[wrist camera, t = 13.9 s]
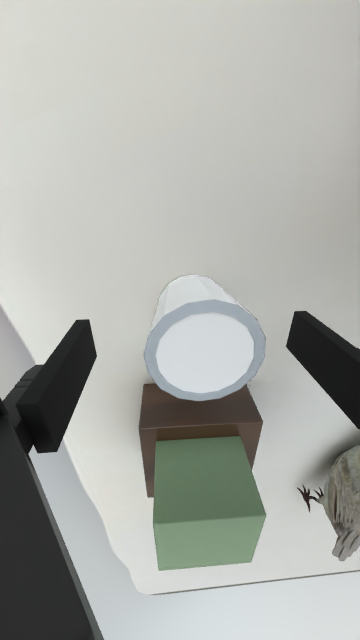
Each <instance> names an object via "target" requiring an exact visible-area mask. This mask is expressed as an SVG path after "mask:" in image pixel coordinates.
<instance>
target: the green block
mask: <svg viewBox="0 0 360 640" xmlns="http://www.w3.org/2000/svg"><path fill="white" fill-rule="evenodd" d="M265 518H266V513H265V510H264V507H263V504H262V501H261V498H260V495H259V492H258V489H257V486H256V483H255V480H254V476H253V473H252V470H251V467H250V464H249V461H248V458H247V455H246V452H245V449H244V446H243V443H242V440H241V437H240V436H230V437H214V438H197V439H181V440H165V441H156V451H155V480H154V508H153V528H154V536H155V545H156V553H157V561H158V569H159V571H162V570H173V569H183V568H194V567H205V566H216V565H227V564H238V563H249V562H251V561H252V558H253V555H254V552H255V549H256V546H257V542H258V539H259V536H260V533H261V530H262V527H263V524H264V521H265Z"/></svg>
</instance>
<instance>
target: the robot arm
mask: <svg viewBox="0 0 360 640" xmlns="http://www.w3.org/2000/svg"><path fill="white" fill-rule="evenodd" d="M286 347H287V348H288V350H289V351H290V352H291V353H292V354H293V355H294V356H295V358H296V359H297V360H298V361H299V362H300V363H301V364H302V365H303V367H304V368H305V369H306V370H307V371H308V372H309V373H310V375H311V376H312V377H313V378H314V379H315V380H316V381H317V382H318V384H319V385H320V386H321V387H322V388H323V389H324V390H325V392H326V393H327V394H328V395H329V396H330V397H331V398H332V399H333V401H334V402H335V403H336V404H337V405H338V406H339V407H340V409H341V410H342V411H343V412H344V413H345V414H346V415H347V416H348V418H349V419H350V420H351V421H352V422H353V423H354V424H355V426H356V427H357V428H358V429H360V349H358V348H356V347H354V346H353V345H352V344H350V343H349V342H348V341H346V340H345V339H343V338H342V337H341V336H339V335H338V334H337V333H335V332H334V331H333V330H331V329H330V328H328V327H327V326H326V325H324V324H323V323H322V322H320V321H319V320H318V319H316V318H315V317H313V316H312V315H311V314H309V313H308V312H307V311H295V312H294V316H293V320H292V324H291V328H290V332H289V336H288V340H287V345H286ZM96 357H97V355H96V350H95V345H94V340H93V335H92V331H91V326H90V321H89V319H88V320H76V321H75V323H74V324H73V325H72V327H71V328H70V329H69V331H68V332H67V334H66V335H65V336H64V338H63V339H62V340H61V342H60V343H59V345H58V346H57V347H56V349H55V350H54V352H53V353H52V354H51V356H50V357H49V358H48V360H47V361H46V363H45V364H44V365H35V366H34V367H32V368H31V369H30V370H28V371H27V372H26V373H25V374H24V375H23V377H22V378H21V379H20V382H18V383H17V384H16V385H15V387H14V388H13V389H12V391H11V392H10V393H9V394H8V395H7V397H6V398H5V399H4V400H3V402H2V400H1V398H0V640H104V638H103V636H102V634H101V631H100V629H99V626H98V624H97V621H96V619H95V616H94V614H93V611H92V609H91V607H90V604H89V602H88V599H87V597H86V594H85V592H84V589H83V587H82V584H81V582H80V579H79V577H78V574H77V572H76V570H75V567H74V565H73V562H72V560H71V557H70V555H69V552H68V550H67V547H66V545H65V542H64V540H63V538H62V535H61V533H60V530H59V528H58V525H57V523H56V520H55V518H54V516H53V513H52V510H51V508H50V506H49V503H48V501H47V498H46V496H45V493H44V491H43V488H42V486H41V483H40V481H39V479H38V476H37V473H36V471H35V469H34V466H33V464H32V461H31V459H30V457H29V455H28V453H29V452H30V450H31V448H32V446H33V444H34V447H35V449H36V451H37V453H48V452H57V450H58V448H59V446H60V443H61V441H62V439H63V436H64V434H65V431H66V429H67V427H68V424H69V422H70V419H71V417H72V415H73V412H74V410H75V407H76V405H77V403H78V400H79V398H80V395H81V393H82V391H83V388H84V386H85V383H86V381H87V379H88V376H89V374H90V371H91V369H92V367H93V364H94V362H95V359H96Z"/></svg>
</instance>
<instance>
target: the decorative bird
mask: <svg viewBox="0 0 360 640" xmlns="http://www.w3.org/2000/svg"><path fill="white" fill-rule="evenodd" d="M302 485H303V484H302ZM303 487H304V486H303ZM297 489H298V490H299V491H300V492H301V493H302V495H303V498H304V500H305V501H306V503H307V505H308V508H309V512H310V504H309V499H314V500H315V501H317V502H318V503H321V504H323V506H324V509H325V512H326V515H327V516H328V518H329V520H330V521H331V524H332V526H333V528H334V530H335V532H336V533H337V535H338V538H337V541H336V545H335V548H334V549H333V551H332V554H333V555H334V556H336V557H339V560H340V561H344V560H345V559H346V558H347V557H350V556H351V555H352V553H353V551H356V550H357V548H358V547H359V545H360V445H357V446H355V447H353V448H351V449H349V450H348V451H347V452H345V453H343V454H341V455H340V456H339V457H338V458H337V459H336V461H335V462H334V464H333V467H332V470H331V472H330V474H329V477H328V479H327V481H326V483H325V485H324V495H323V492H322V490H321V489H320V488H319V489H320V492H321V495H320V494H319V493H318V492H317V491H315V490H314V491H315V492H316V493H317V494H318V496H319V499H316V498H315V497H313V496H309V495H310V490H309V489H308V493H307V492H306V489H305V487H304V493H303V491H302V490H300V489H299V488H297Z"/></svg>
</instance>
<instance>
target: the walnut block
mask: <svg viewBox="0 0 360 640" xmlns="http://www.w3.org/2000/svg"><path fill="white" fill-rule="evenodd" d="M262 424H263V420H262V418H261V416H260V414H259V412H258V410H257V407H256V405H255V403H254V401H253V399H252V396H251V394H250V392H249V390H248V388H247V386H246V384H245V385H244V386H243V387H242V388H241V389H239V390H237V391H235V392H233V393H231V394H228V395H226V396H224V397H222V398H219V399H212V400H205V401H194V400H187V399H181V398H177V397H175V396H173V395H171V394H170V393H168V392H166V391H164V390H162V389H160V387H159V386H158V385H157V384H146V385H144V386H143V395H142V404H141V413H140V422H139V435H140V443H141V450H142V458H143V466H144V474H145V481H146V489H147V497H148V498H149V497H154V480H155V451H156V441H165V440H181V439H197V438H214V437H230V436H240V437H241V440H242V443H243V446H244V449H245V452H246V455H247V458H248V461H249V464H250V467H251V470H252V468H253V463H254V459H255V455H256V450H257V446H258V441H259V437H260V433H261V428H262Z"/></svg>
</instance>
